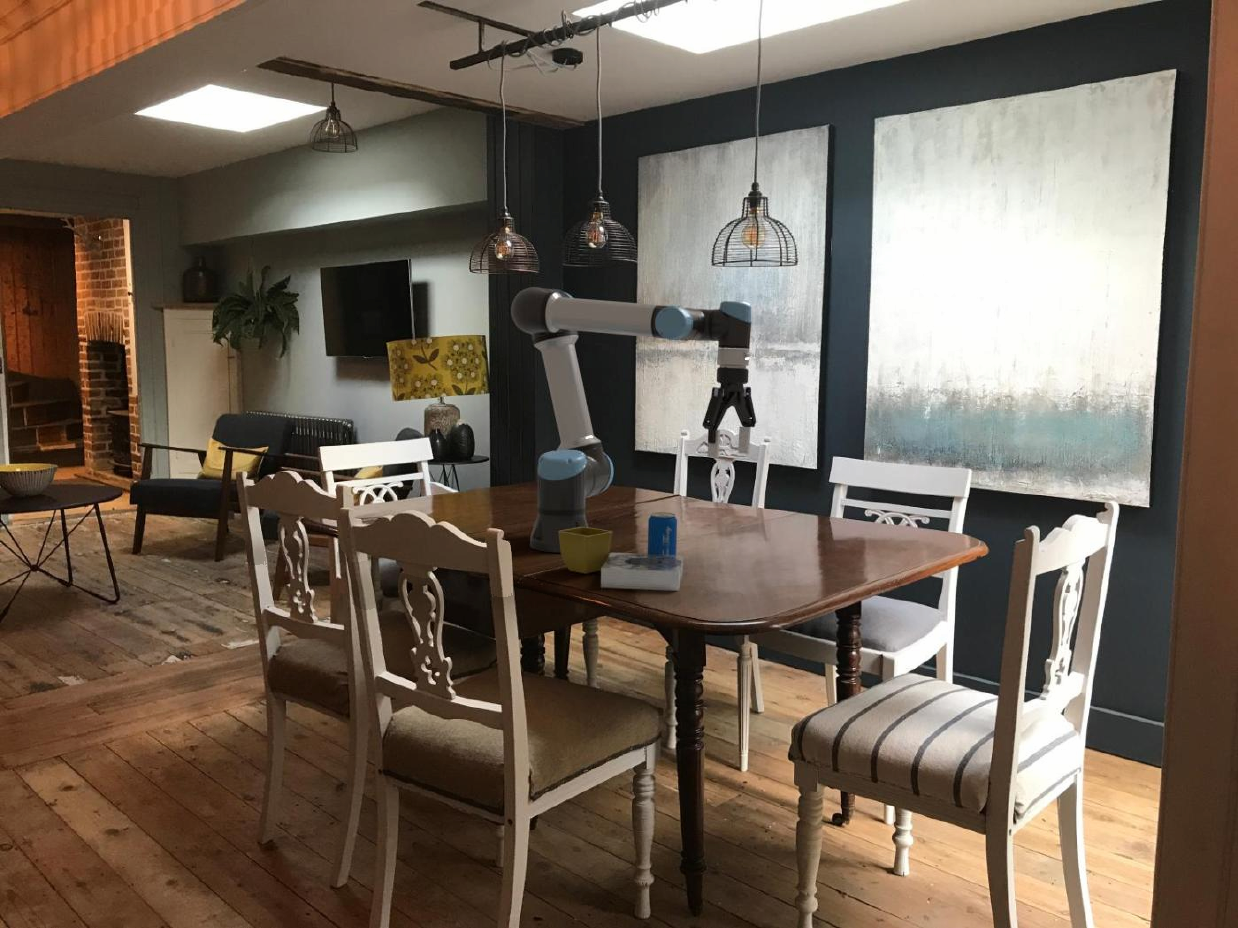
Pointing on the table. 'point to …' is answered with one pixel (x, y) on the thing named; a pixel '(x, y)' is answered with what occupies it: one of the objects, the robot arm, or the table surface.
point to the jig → (642, 571)
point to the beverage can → (662, 533)
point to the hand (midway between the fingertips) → (728, 455)
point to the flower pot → (585, 548)
